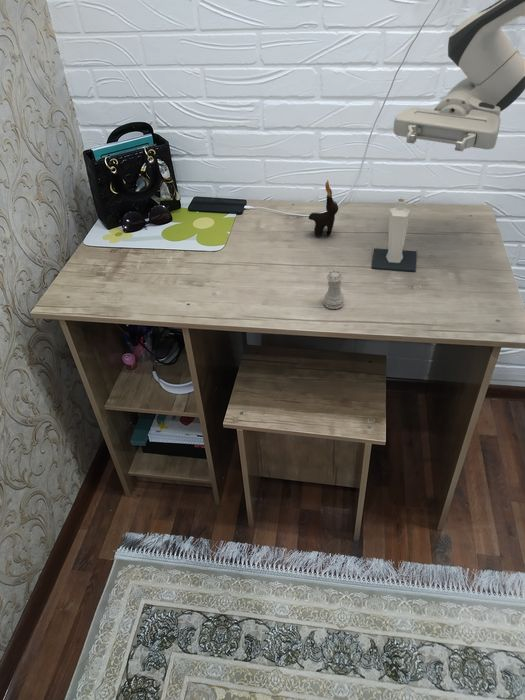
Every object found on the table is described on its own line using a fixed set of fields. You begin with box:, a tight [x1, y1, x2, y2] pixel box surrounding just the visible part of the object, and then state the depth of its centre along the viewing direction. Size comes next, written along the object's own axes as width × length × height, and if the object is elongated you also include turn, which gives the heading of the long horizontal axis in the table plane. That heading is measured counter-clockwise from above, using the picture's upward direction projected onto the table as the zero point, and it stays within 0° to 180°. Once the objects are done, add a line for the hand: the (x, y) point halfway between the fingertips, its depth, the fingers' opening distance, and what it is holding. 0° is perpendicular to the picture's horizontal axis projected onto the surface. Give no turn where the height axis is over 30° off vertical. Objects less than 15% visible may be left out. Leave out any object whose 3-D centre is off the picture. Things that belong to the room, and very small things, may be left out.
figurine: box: [308, 179, 339, 237], centre depth 139 cm, size 11×7×15 cm
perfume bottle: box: [386, 197, 412, 263], centre depth 128 cm, size 5×4×15 cm
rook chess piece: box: [323, 269, 345, 310], centre depth 120 cm, size 4×4×8 cm
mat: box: [370, 247, 418, 273], centre depth 133 cm, size 10×8×1 cm
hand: (434, 143), depth 109 cm, fingers open, 8 cm apart
